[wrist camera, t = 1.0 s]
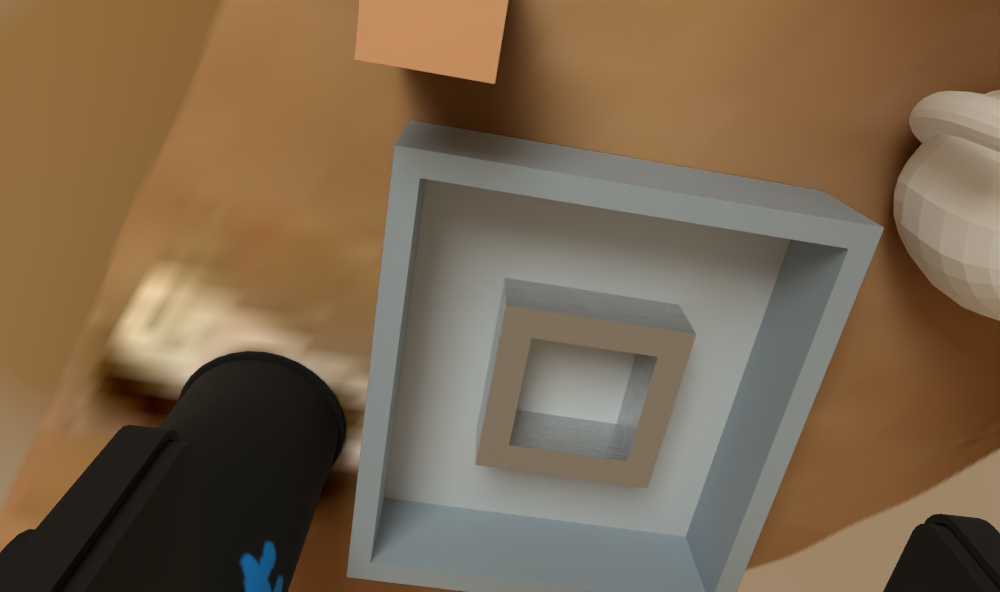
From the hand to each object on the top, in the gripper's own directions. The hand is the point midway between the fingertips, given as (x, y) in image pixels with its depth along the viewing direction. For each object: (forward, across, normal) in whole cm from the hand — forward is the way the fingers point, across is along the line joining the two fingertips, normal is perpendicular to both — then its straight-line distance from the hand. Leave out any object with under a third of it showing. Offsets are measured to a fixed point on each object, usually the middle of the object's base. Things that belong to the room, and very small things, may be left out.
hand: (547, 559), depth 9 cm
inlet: (+22, -4, +9) cm, 24 cm away
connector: (+23, +3, -6) cm, 24 cm away
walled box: (+23, -4, +9) cm, 25 cm away
